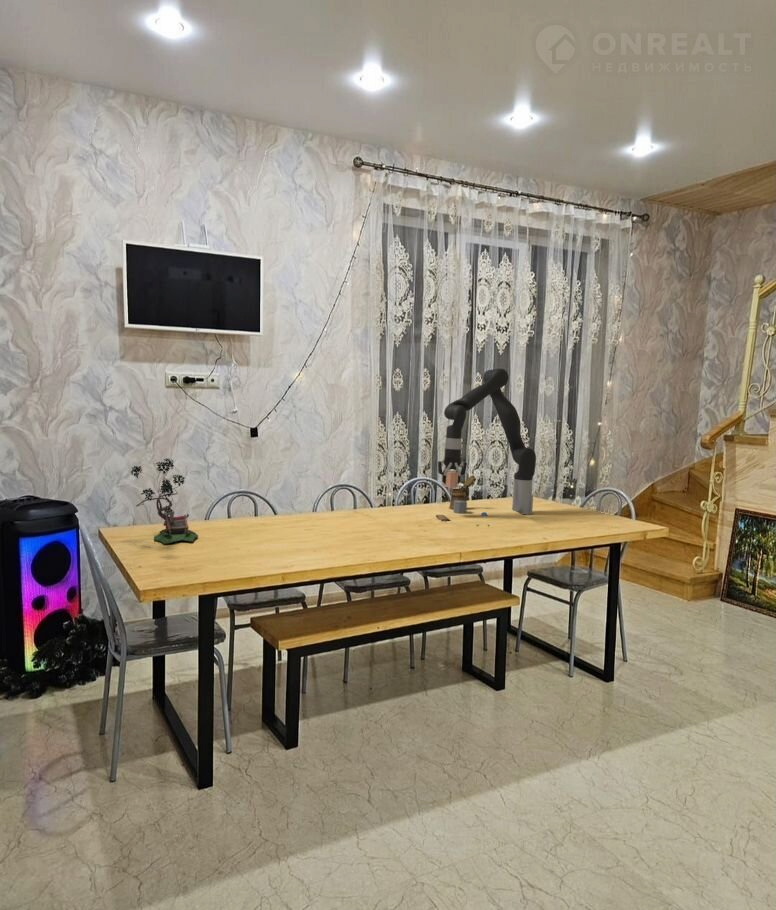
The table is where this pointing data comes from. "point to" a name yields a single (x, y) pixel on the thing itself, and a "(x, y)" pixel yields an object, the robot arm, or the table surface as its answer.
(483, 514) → the blue marble
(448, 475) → the terracotta cup
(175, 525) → the bonsai tree
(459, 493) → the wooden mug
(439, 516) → the walnut coaster
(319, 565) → the table surface
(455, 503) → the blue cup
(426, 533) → the table surface
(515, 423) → the robot arm
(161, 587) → the table surface
